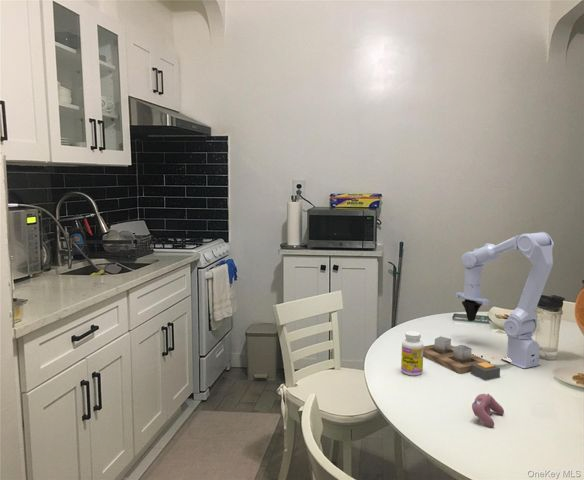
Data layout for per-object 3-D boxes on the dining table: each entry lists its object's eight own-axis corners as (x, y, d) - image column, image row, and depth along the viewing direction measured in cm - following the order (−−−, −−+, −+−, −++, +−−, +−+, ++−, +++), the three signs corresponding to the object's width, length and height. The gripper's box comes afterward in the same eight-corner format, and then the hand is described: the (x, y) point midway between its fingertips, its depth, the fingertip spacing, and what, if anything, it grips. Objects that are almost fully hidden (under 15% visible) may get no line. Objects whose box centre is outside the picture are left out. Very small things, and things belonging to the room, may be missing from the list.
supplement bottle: (398, 374, 161) (399, 334, 159) (404, 367, 167) (405, 329, 165) (419, 377, 158) (420, 337, 156) (424, 370, 164) (425, 331, 162)
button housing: (499, 377, 158) (500, 367, 157) (485, 380, 155) (485, 370, 155) (485, 370, 163) (485, 361, 163) (470, 373, 161) (471, 364, 160)
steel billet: (450, 355, 177) (450, 338, 177) (444, 358, 175) (445, 341, 174) (440, 352, 180) (440, 336, 180) (434, 355, 177) (434, 338, 177)
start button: (493, 374, 158) (494, 365, 158) (485, 376, 157) (485, 367, 156) (485, 371, 162) (485, 361, 161) (476, 372, 160) (476, 363, 160)
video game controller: (489, 416, 135) (478, 390, 136) (506, 413, 133) (494, 387, 134) (477, 430, 128) (466, 403, 129) (494, 427, 125) (482, 400, 126)
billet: (471, 366, 167) (471, 348, 167) (461, 367, 166) (462, 350, 165) (462, 362, 171) (462, 344, 170) (453, 363, 169) (453, 346, 169)
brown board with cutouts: (490, 367, 166) (490, 361, 165) (459, 374, 160) (460, 368, 160) (444, 347, 185) (444, 342, 185) (416, 353, 180) (416, 347, 180)
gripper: (496, 286, 180) (494, 324, 182) (466, 279, 193) (465, 314, 195) (481, 288, 177) (479, 326, 179) (452, 281, 190) (450, 316, 192)
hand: (471, 320), depth 187 cm, fingers closed
